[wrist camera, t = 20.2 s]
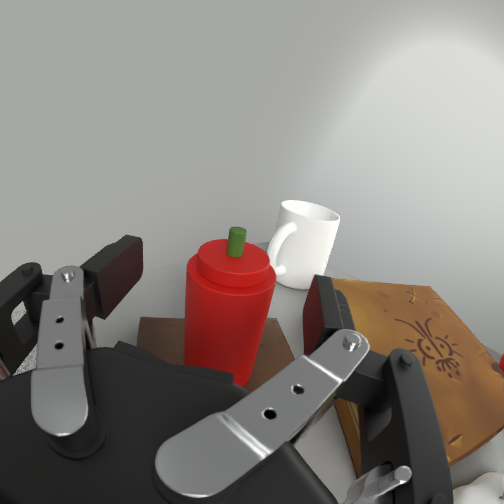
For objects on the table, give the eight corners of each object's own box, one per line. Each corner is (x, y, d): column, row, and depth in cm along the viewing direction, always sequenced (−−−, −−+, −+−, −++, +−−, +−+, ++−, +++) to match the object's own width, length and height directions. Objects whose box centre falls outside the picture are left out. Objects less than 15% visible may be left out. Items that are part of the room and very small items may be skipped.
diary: (494, 436, 14) (528, 403, 11) (364, 504, 11) (411, 481, 9) (417, 317, 34) (433, 285, 32) (304, 316, 32) (318, 275, 29)
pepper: (214, 405, 17) (235, 262, 12) (171, 358, 21) (171, 219, 15) (265, 371, 21) (304, 239, 16) (221, 334, 24) (240, 209, 19)
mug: (284, 309, 32) (306, 230, 28) (236, 278, 37) (248, 205, 32) (329, 279, 41) (349, 217, 36) (288, 257, 45) (302, 198, 41)
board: (134, 434, 15) (130, 426, 14) (141, 327, 25) (140, 316, 24) (313, 421, 18) (319, 412, 18) (273, 328, 29) (276, 317, 28)
